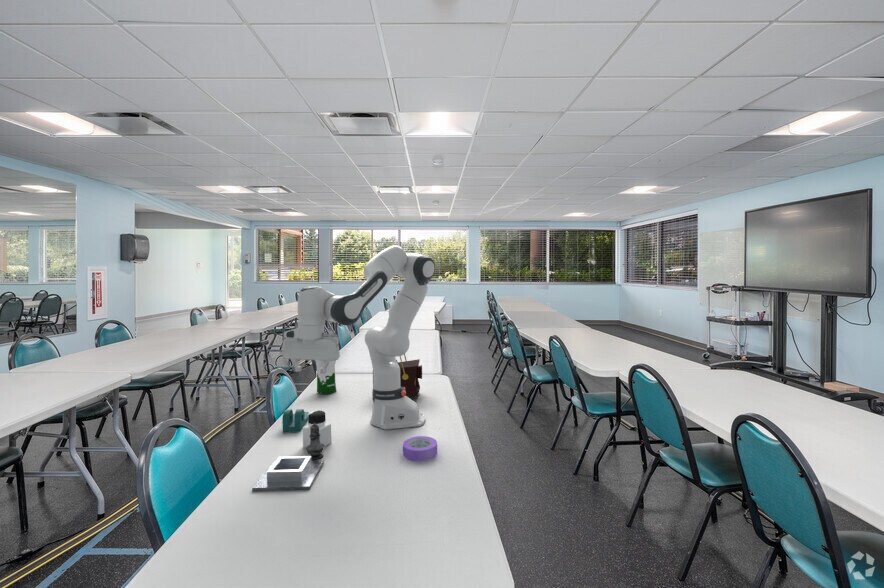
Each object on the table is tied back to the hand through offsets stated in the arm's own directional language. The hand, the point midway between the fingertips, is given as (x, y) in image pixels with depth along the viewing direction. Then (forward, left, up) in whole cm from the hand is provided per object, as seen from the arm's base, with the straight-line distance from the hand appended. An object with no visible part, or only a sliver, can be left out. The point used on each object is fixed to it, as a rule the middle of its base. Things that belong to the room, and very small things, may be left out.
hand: (310, 372), depth 142 cm
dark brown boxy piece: (-26, -60, -27) cm, 70 cm away
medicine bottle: (-1, -4, -27) cm, 28 cm away
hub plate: (+1, +19, -27) cm, 33 cm away
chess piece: (-3, +6, -27) cm, 28 cm away
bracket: (+13, -26, -28) cm, 40 cm away
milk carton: (+12, -71, -27) cm, 77 cm away
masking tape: (-38, +5, -28) cm, 47 cm away
